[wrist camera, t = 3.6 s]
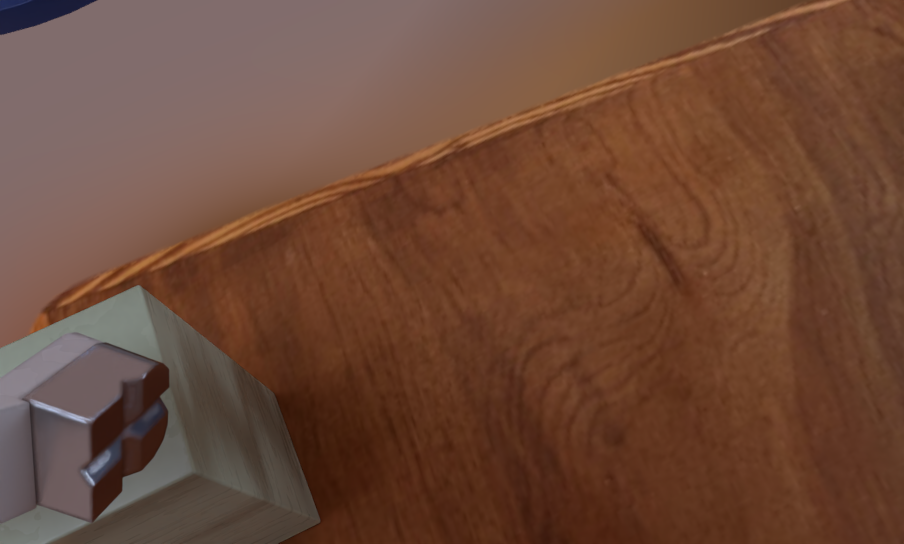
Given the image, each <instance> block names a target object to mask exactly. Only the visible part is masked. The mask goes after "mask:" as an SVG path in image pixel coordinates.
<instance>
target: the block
mask: <svg viewBox="0 0 904 544" xmlns="http://www.w3.org/2000/svg"><path fill="white" fill-rule="evenodd" d="M74 332H77V333H80V334H83V335H85V336H88V337H91V338H94V339H96V340H99V341H102V342H107V343H109V344H112V345H115V346H118V347H120V348H123V349H126V350H129V351H131V352H134V353H137V354H139V355H142V356H145V357H148V358H150V359H153V360H156V361H159V362H161V363H164V364H165V365H166V366H167V367H168V368H169V388H168V389H167V390H166V391H165V392H164V393H163V394H162V395H161V396H160V397H161V399H162V401H163V403H164V404H165V406H166V408H167V409H168V425H167V429H166V433H165V437H164V440H163V442H162V444H161V445H160V447H159V449H158V451H157V453H156V455H155V456H154V458H153V459H152V460H151V461H150V462H149V463H148V465H147V466H146V467H145V468H144V469H143V470H142V471H140V472H137V473H134V474H131V475H128V476H126V477H123V486H122V492H121V493H120V494H119V495H118V497H117V498H116V499H115V500H114V501H113V502H112V503H111V504H110V505H109V506H108V507H107V508H106V509H105V510H104V511H103V512H102V513H101V514H100V515H99V516H98V517H97V519H96V520H95V521H94V522H93V523H89V522H86V521H83V520H80V519H77V518H75V517H72V516H69V515H66V514H63V513H60V512H57V511H54V510H51V509H48V508H45V507H42V506H39V505H36V508H35V509H33V510H31V511H29V512H26V513H24V514H22V515H20V516H18V517H15V518H13V519H11V520H9V521H6V522H4V523H2V524H0V544H278V543H280V542H282V541H284V540H286V539H288V538H290V537H292V536H294V535H296V534H298V533H300V532H302V531H304V530H306V529H308V528H310V527H312V526H314V525H316V524H318V523H320V517H319V515H318V512H317V509H316V507H315V504H314V501H313V498H312V496H311V493H310V490H309V487H308V485H307V482H306V479H305V476H304V474H303V471H302V468H301V465H300V463H299V460H298V457H297V454H296V452H295V449H294V446H293V443H292V441H291V438H290V435H289V433H288V430H287V427H286V424H285V422H284V419H283V416H282V413H281V411H280V408H279V405H278V402H277V400H276V397H275V394H274V393H273V392H272V391H271V390H269V389H268V388H267V387H266V386H264V385H263V384H262V383H261V382H259V381H258V380H257V379H256V378H255V377H253V376H252V375H251V374H250V373H248V372H247V371H246V370H245V369H243V368H242V367H241V366H240V365H238V364H237V363H236V362H235V361H233V360H232V359H231V358H230V357H228V356H227V355H226V354H225V353H223V352H222V351H221V350H220V349H218V348H217V347H216V346H215V345H213V344H212V343H211V342H210V341H208V340H207V339H206V338H205V337H203V336H202V335H201V334H200V333H198V332H197V331H196V330H195V329H193V328H192V327H191V326H190V325H189V324H187V323H186V322H185V321H184V320H182V319H181V318H180V317H179V316H177V315H176V314H175V313H174V312H172V311H171V310H170V309H169V308H167V307H166V306H165V305H164V304H162V303H161V302H160V301H159V300H157V299H156V298H155V297H154V296H152V295H151V294H150V293H149V292H147V291H146V290H145V289H144V288H142V287H141V286H135V287H133V288H131V289H129V290H127V291H125V292H122V293H120V294H118V295H116V296H114V297H111V298H109V299H107V300H105V301H103V302H100V303H98V304H96V305H94V306H92V307H89V308H87V309H85V310H83V311H81V312H79V313H76V314H74V315H72V316H70V317H68V318H65V319H63V320H61V321H59V322H57V323H54V324H52V325H50V326H48V327H46V328H43V329H41V330H39V331H37V332H35V333H33V334H30V335H28V336H26V337H24V338H22V339H19V340H17V341H15V342H13V343H11V344H8V345H6V346H4V347H2V348H0V378H1V377H2V376H4V375H5V374H7V373H8V372H10V371H11V370H13V369H14V368H16V367H17V366H18V365H20V364H21V363H23V362H24V361H26V360H27V359H29V358H30V357H32V356H33V355H35V354H36V353H38V352H39V351H40V350H42V349H43V348H45V347H46V346H48V345H49V344H51V343H52V342H54V341H55V340H57V339H58V338H60V337H61V336H63V335H64V334H66V333H74Z"/></svg>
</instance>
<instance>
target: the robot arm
mask: <svg viewBox="0 0 904 544" xmlns="http://www.w3.org/2000/svg"><path fill="white" fill-rule="evenodd" d="M168 388H169V368H168V367H167V366H166V365H165V364H164V363H161V362H159V361H156V360H153V359H150V358H148V357H145V356H142V355H139V354H137V353H134V352H131V351H129V350H126V349H123V348H120V347H118V346H115V345H112V344H109V343H107V342H102V341H99V340H96V339H94V338H91V337H88V336H85V335H83V334H80V333H77V332H74V333H66V334H64V335H63V336H61V337H60V338H58V339H57V340H55V341H54V342H52V343H51V344H49V345H48V346H46V347H45V348H43V349H42V350H40V351H39V352H38V353H36V354H35V355H33V356H32V357H30V358H29V359H27V360H26V361H24V362H23V363H21V364H20V365H18V366H17V367H16V368H14V369H13V370H11V371H10V372H8V373H7V374H5V375H4V376H2V377H1V378H0V524H2V523H4V522H6V521H9V520H11V519H13V518H15V517H18V516H20V515H22V514H24V513H26V512H29V511H31V510H33V509H35V508H36V505H39V506H42V507H45V508H48V509H51V510H54V511H57V512H60V513H63V514H66V515H69V516H72V517H75V518H77V519H80V520H83V521H86V522H89V523H93V522H94V521H95V520H96V519H97V517H98V516H99V515H100V514H101V513H102V512H103V511H104V510H105V509H106V508H107V507H108V506H109V505H110V504H111V503H112V502H113V501H114V500H115V499H116V498H117V497H118V495H119V494H120V493H121V492H122V486H123V477H126V476H128V475H131V474H134V473H137V472H140V471H142V470H143V469H144V468H145V467H146V466H147V465H148V463H149V462H150V461H151V460H152V459H153V458H154V456H155V455H156V453H157V451H158V449H159V447H160V445H161V444H162V442H163V440H164V437H165V433H166V429H167V425H168V409H167V408H166V406H165V404H164V403H163V401H162V399H161V397H160V396H161V395H162V394H163V393H164V392H165V391H166V390H167V389H168Z"/></svg>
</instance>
